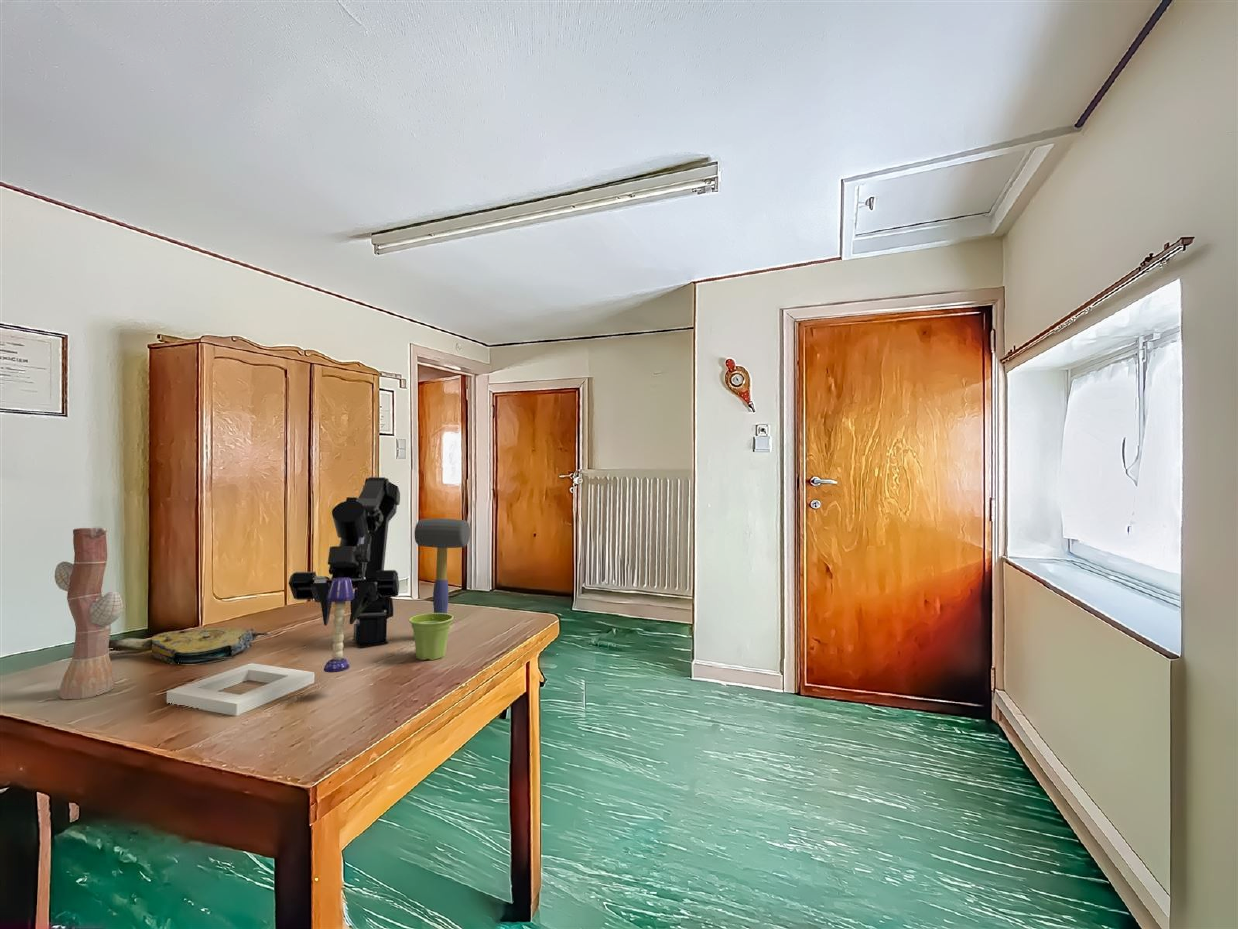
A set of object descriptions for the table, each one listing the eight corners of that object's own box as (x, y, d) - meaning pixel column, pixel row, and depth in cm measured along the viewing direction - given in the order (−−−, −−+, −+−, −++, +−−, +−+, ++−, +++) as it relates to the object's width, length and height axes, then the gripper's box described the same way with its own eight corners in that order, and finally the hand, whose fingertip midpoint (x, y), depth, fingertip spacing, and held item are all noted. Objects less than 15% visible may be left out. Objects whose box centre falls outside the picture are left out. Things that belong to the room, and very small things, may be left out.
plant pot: (424, 666, 118) (425, 625, 118) (399, 657, 124) (401, 618, 124) (460, 655, 126) (461, 617, 126) (436, 647, 131) (437, 610, 132)
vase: (127, 687, 103) (134, 526, 104) (80, 702, 96) (88, 529, 97) (86, 681, 106) (94, 524, 107) (38, 695, 99) (46, 527, 100)
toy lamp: (325, 665, 104) (328, 576, 104) (353, 663, 105) (355, 575, 106) (322, 674, 99) (325, 581, 100) (351, 671, 101) (354, 579, 101)
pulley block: (135, 618, 128) (269, 619, 130) (137, 642, 129) (271, 643, 130) (79, 646, 114) (231, 647, 116) (82, 672, 115) (233, 673, 117)
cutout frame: (250, 673, 112) (251, 663, 112) (314, 682, 107) (314, 672, 108) (166, 703, 97) (166, 691, 97) (236, 716, 92) (236, 703, 92)
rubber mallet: (408, 641, 136) (412, 518, 137) (422, 632, 143) (425, 516, 144) (458, 643, 135) (461, 520, 136) (468, 634, 142) (472, 518, 143)
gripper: (293, 529, 104) (270, 601, 93) (399, 529, 109) (388, 597, 98) (304, 564, 112) (284, 635, 101) (402, 562, 116) (393, 630, 106)
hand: (338, 623), depth 101 cm, fingers closed on toy lamp, 4 cm apart
